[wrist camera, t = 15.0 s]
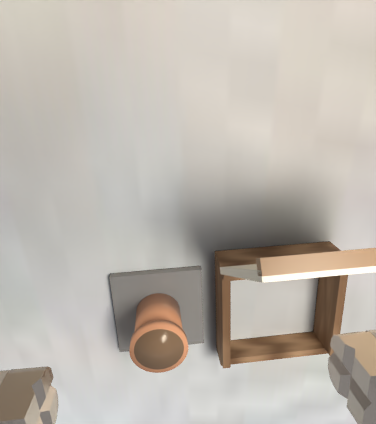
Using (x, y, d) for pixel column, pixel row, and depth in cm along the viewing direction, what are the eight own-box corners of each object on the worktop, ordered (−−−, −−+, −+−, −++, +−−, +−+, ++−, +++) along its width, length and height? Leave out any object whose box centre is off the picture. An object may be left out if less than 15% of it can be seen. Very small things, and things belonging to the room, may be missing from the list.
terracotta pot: (135, 334, 45) (132, 375, 38) (130, 292, 43) (126, 328, 36) (183, 330, 45) (189, 369, 39) (182, 288, 43) (187, 323, 37)
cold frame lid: (262, 282, 21) (259, 258, 21) (220, 274, 37) (219, 260, 38) (497, 260, 22) (492, 237, 23) (358, 261, 39) (356, 248, 39)
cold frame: (216, 347, 48) (224, 380, 43) (214, 251, 43) (223, 273, 37) (318, 336, 50) (340, 366, 44) (329, 241, 44) (355, 261, 39)
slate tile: (120, 346, 47) (119, 351, 46) (110, 273, 43) (109, 277, 42) (202, 338, 47) (203, 342, 47) (200, 265, 44) (201, 269, 43)
